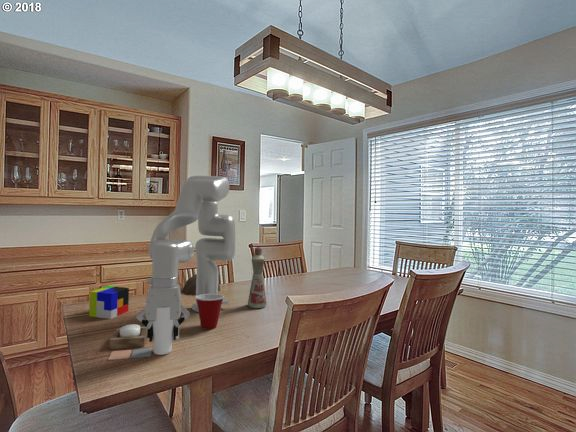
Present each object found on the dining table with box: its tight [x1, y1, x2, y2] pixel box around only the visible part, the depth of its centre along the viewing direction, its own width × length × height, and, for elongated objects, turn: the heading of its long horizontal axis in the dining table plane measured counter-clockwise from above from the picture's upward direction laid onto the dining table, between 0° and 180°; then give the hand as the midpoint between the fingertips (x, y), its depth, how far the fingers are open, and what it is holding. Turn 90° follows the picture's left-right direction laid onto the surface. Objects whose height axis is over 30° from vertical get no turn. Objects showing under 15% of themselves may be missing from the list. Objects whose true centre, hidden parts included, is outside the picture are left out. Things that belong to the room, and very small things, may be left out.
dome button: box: [119, 323, 141, 337], centre depth 107 cm, size 6×6×4 cm
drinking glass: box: [152, 307, 174, 356], centre depth 101 cm, size 7×7×15 cm
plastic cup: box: [195, 293, 225, 330], centre depth 123 cm, size 11×11×12 cm
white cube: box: [172, 324, 180, 341], centre depth 112 cm, size 4×4×4 cm
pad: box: [107, 349, 133, 361], centre depth 97 cm, size 6×6×1 cm
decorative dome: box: [182, 273, 221, 296], centre depth 174 cm, size 19×20×10 cm
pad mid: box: [129, 347, 154, 360], centre depth 99 cm, size 6×6×1 cm
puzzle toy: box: [88, 285, 130, 320], centre depth 133 cm, size 10×10×10 cm
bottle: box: [247, 246, 267, 309], centre depth 151 cm, size 9×9×28 cm
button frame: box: [109, 326, 148, 350], centre depth 107 cm, size 10×10×3 cm
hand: (163, 338), depth 101 cm, fingers closed on drinking glass, 6 cm apart
